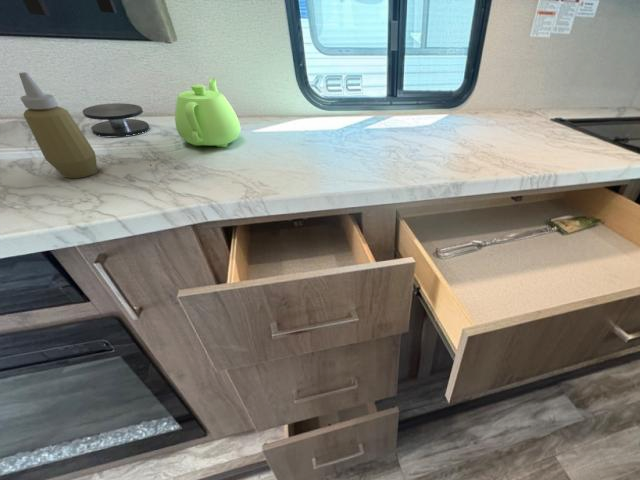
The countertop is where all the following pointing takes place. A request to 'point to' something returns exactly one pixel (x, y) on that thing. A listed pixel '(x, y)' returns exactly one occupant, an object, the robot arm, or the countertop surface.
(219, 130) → the teapot
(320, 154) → the countertop surface
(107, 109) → the stand
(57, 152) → the squeeze bottle
